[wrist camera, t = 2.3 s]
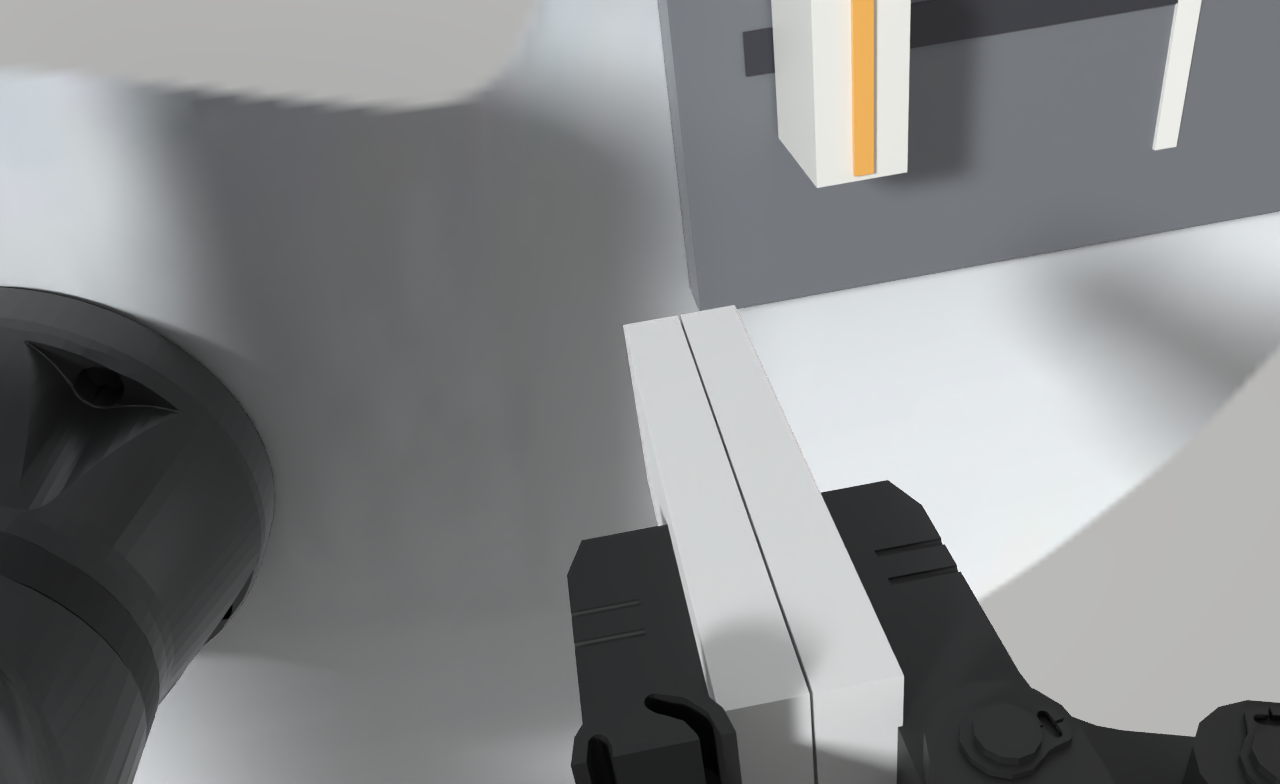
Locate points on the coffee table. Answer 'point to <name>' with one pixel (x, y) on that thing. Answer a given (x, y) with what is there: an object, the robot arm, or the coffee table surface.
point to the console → (976, 140)
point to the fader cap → (843, 86)
